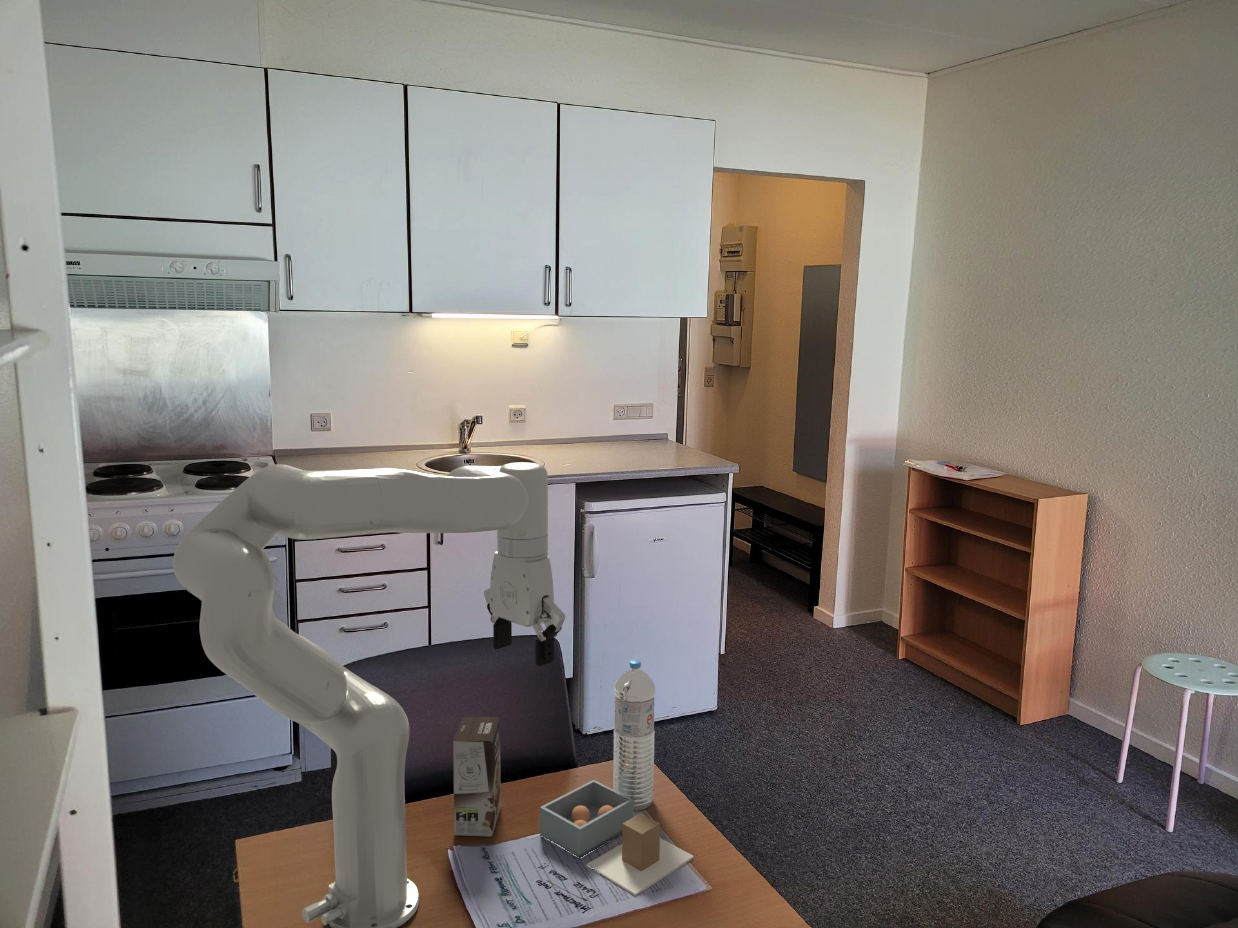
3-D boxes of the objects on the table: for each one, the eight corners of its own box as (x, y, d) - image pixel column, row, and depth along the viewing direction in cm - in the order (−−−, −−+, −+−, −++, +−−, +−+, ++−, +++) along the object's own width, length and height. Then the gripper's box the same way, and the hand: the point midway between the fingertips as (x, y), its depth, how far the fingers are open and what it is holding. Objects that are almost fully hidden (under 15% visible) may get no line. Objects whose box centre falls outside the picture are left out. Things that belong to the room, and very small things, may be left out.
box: (580, 859, 140) (580, 829, 139) (540, 836, 146) (540, 806, 145) (633, 828, 148) (633, 799, 147) (593, 807, 154) (593, 779, 154)
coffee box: (493, 837, 145) (492, 741, 143) (453, 836, 145) (451, 740, 143) (502, 806, 154) (501, 715, 152) (463, 805, 154) (462, 715, 152)
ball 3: (607, 831, 146) (607, 813, 145) (593, 823, 148) (593, 806, 147) (620, 823, 148) (620, 806, 148) (606, 816, 150) (606, 799, 150)
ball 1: (580, 831, 146) (580, 813, 145) (567, 823, 148) (567, 806, 147) (593, 823, 148) (593, 806, 147) (580, 816, 150) (580, 799, 149)
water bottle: (630, 787, 161) (632, 650, 157) (661, 800, 157) (664, 661, 153) (604, 802, 156) (606, 662, 152) (635, 817, 152) (637, 672, 147)
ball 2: (580, 846, 142) (580, 828, 141) (566, 838, 144) (566, 821, 143) (593, 838, 144) (594, 821, 143) (580, 831, 146) (580, 813, 145)
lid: (635, 898, 131) (635, 854, 130) (586, 868, 138) (586, 827, 137) (693, 860, 141) (694, 819, 139) (645, 834, 147) (646, 795, 146)
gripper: (466, 539, 141) (468, 646, 143) (542, 561, 129) (543, 677, 132) (504, 531, 146) (505, 634, 149) (581, 551, 134) (580, 663, 137)
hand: (523, 654), depth 140 cm, fingers open, 9 cm apart
